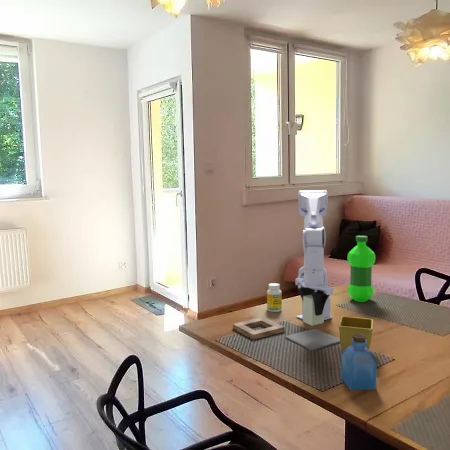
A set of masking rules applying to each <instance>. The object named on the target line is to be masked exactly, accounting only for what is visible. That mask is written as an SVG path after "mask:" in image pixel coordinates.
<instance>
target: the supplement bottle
mask: <svg viewBox="0 0 450 450" xmlns="http://www.w3.org/2000/svg"><path fill="white" fill-rule="evenodd" d="M280 288H281V284H280V283H276V282H274V283H272V282H271V283H268V290H266V310H267V311H268V312H271V313H278V312H281V311H282V309H283V307H282V301H283V299H282V290H281V289H280Z"/></svg>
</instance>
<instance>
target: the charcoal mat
mask: <svg viewBox="0 0 450 450" xmlns="http://www.w3.org/2000/svg"><path fill="white" fill-rule="evenodd" d="M285 339H286V340H288V341H291V342H292V343H294V344H297V345H298V346H302V347H303V348H305V349H308V350H309V351H316V350H319V349H323V348H326V347H330V346H333V345H337V344H341V343H340V338H338V337H336V336H334V335H332V334H330V333H326V332H324V331H321V330H319V329H318V328H313V329H308V330H305V331H304V330H303V331H300V332H296V333H292V334H289V335H286V336H285Z"/></svg>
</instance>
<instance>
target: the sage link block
mask: <svg viewBox="0 0 450 450" xmlns="http://www.w3.org/2000/svg"><path fill="white" fill-rule="evenodd" d="M302 322H303V323H305V324H308V325H310V326H312V327H313V326H316V325H317V326H318V325H321V324H324V322H325V320H324V309H323V313H322V315H318V316H316V315H315V305H314V300H313V297H312V294H311V295H306V296H303V320H302Z"/></svg>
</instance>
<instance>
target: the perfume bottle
mask: <svg viewBox="0 0 450 450" xmlns="http://www.w3.org/2000/svg"><path fill="white" fill-rule="evenodd" d="M352 336H353V339H352V345H353V346H348V347H347V348H346V349H345V351H343V352H342V353H341V380H342V381H343V383H344V384H345V386H347V387H348V389H349V391H361V390H362V391H365V390H377V372H378V371H377V367H378V365H377V362H376V359H375V358H374V356H373V354H372V353H371V351H370V349H369V350H368V349H367V348H366V347H365V346H366V345H367V341H366V340H365V339H366V335H365V334H361V333H354V334H353V335H352Z"/></svg>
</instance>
